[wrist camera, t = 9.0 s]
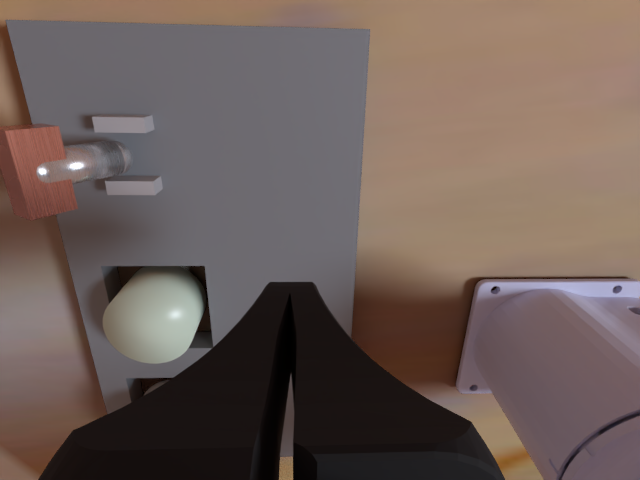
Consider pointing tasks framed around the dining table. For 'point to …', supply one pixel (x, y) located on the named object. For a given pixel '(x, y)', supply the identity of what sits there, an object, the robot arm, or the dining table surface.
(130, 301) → the sage button
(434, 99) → the dining table surface
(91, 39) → the panel
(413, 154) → the dining table surface
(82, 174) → the toggle lever
